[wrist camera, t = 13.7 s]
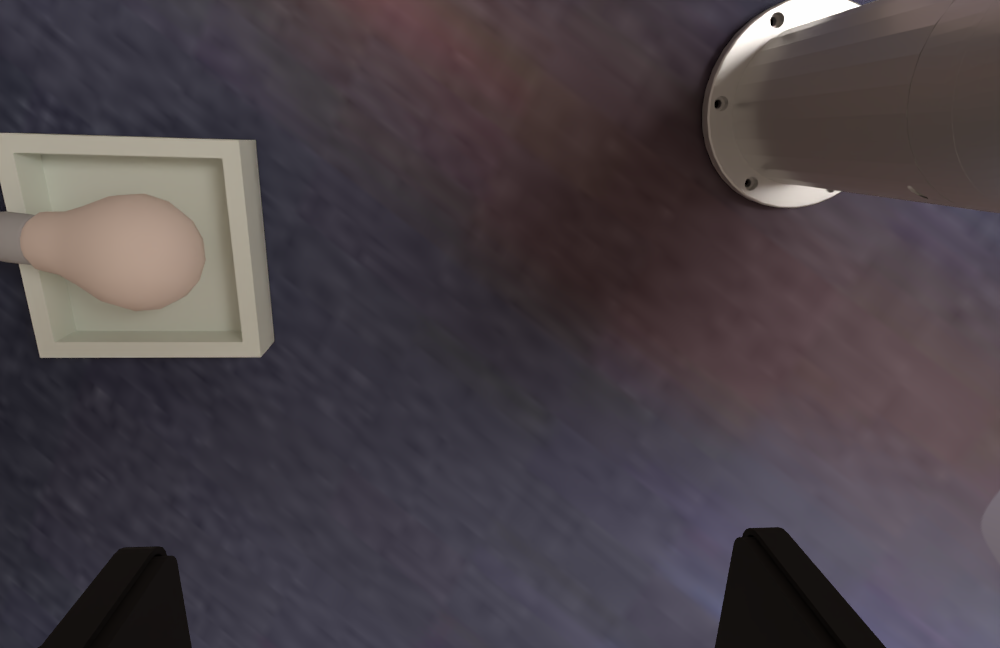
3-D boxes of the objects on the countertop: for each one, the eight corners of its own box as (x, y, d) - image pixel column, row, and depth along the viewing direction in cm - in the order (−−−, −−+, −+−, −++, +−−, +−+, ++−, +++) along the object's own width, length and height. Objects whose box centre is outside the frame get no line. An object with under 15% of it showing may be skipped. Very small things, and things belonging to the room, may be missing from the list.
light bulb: (-66, 297, 28) (171, 322, 30) (-59, 161, 28) (181, 193, 29) (27, 293, 35) (218, 313, 36) (34, 183, 34) (227, 208, 36)
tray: (255, 140, 35) (238, 140, 32) (274, 341, 39) (260, 357, 36) (27, 133, 34) (-12, 132, 31) (70, 341, 38) (40, 357, 35)
